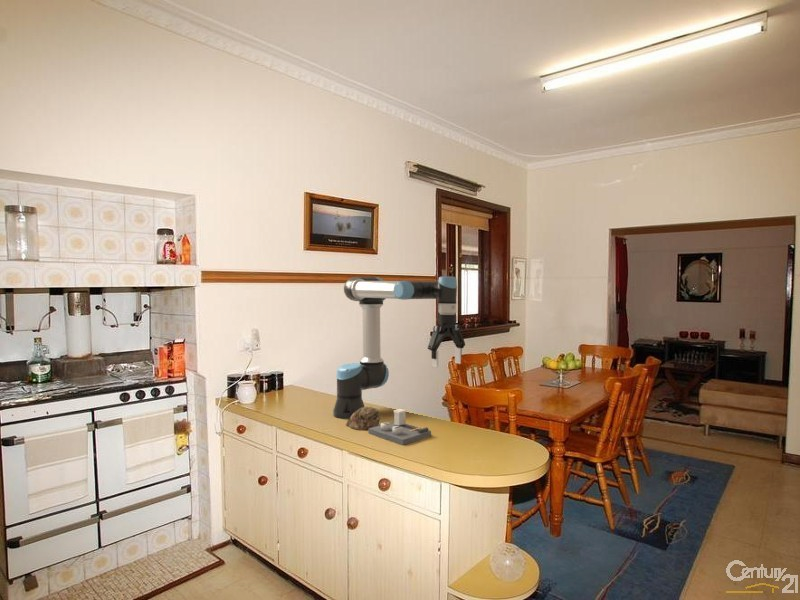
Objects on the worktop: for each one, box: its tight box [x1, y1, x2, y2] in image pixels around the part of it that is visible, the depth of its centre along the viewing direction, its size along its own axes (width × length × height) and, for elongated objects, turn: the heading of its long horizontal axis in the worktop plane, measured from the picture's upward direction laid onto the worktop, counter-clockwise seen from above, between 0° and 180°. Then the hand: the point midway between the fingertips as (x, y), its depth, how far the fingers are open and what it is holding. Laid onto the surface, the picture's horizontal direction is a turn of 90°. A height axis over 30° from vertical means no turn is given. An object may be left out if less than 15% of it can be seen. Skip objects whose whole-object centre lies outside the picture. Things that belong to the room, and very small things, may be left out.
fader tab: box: [393, 408, 407, 426], centre depth 200 cm, size 3×4×6 cm
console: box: [367, 421, 432, 446], centre depth 193 cm, size 20×16×5 cm
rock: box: [345, 406, 381, 431], centre depth 204 cm, size 14×9×10 cm
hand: (446, 365), depth 197 cm, fingers open, 13 cm apart
